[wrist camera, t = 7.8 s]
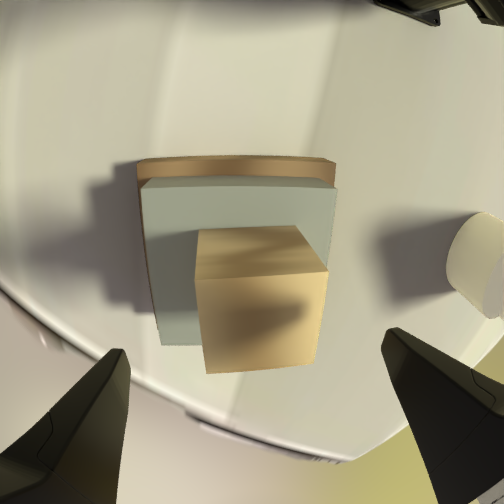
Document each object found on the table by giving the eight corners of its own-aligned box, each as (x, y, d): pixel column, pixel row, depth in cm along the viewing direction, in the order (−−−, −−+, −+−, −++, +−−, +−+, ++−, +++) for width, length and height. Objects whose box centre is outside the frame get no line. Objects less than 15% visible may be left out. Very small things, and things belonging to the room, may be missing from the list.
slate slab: (318, 177, 18) (337, 189, 15) (302, 312, 22) (313, 338, 19) (152, 177, 16) (140, 188, 14) (166, 317, 21) (161, 345, 18)
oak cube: (295, 225, 16) (329, 271, 11) (289, 304, 18) (313, 363, 13) (198, 229, 15) (194, 280, 11) (205, 310, 17) (206, 373, 13)
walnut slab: (320, 156, 20) (336, 163, 17) (305, 300, 25) (315, 322, 22) (147, 157, 19) (136, 164, 16) (162, 306, 24) (157, 329, 21)
